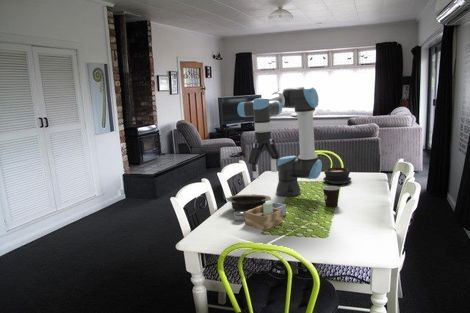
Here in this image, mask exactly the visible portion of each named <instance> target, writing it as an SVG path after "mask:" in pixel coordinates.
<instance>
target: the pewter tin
mask: <svg viewBox="0 0 470 313" xmlns="http://www.w3.org/2000/svg"><path fill="white" fill-rule="evenodd" d="M244 212H246V211H243V210H239V211H233V215H234V221H235V222H236V223H237V222H238V223H242V222H245V215H244Z"/></svg>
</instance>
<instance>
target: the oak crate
mask: <svg viewBox="0 0 470 313" xmlns="http://www.w3.org/2000/svg"><path fill="white" fill-rule="evenodd" d="M257 212H259V213H263V214H264V211H263V205H261V206H259V207H256V208H254V209H251V210H248V211H246V212H244V215H245V221H244V225H246V226H249V227H254V228H255V229H256V228H257V229H260V230H263V231H266V230H268V229H270V228H273V227H275V226H277V225H280V224H281V223H284V222H283V220H284V219H283V218H284V216H283V215H282V210H281V209H276V208H273V213H272V214H269V215H267V216H261V215H257V214H255V213H257Z"/></svg>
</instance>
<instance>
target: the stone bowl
mask: <svg viewBox="0 0 470 313" xmlns="http://www.w3.org/2000/svg"><path fill="white" fill-rule="evenodd" d="M225 199H226V200H227V201H228V202H229V203H231V209H232V210H233V212H235V211H239V210H243V211H248V210H251V209H254V208H256V207H259V206H261V205H263V204H264V203H267V202H268V201H271V200H272V197H271V196H269V195H265V194H255V193H254V194H238V195H235V194H234V195H231V196H228V197H227V196H226V197H225Z"/></svg>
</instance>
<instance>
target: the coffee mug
mask: <svg viewBox="0 0 470 313" xmlns="http://www.w3.org/2000/svg"><path fill="white" fill-rule="evenodd" d="M322 190H323V191H322V192H323V197H324V204H325V207H327V208H330V207H331V209H332V208H338V205H339V195H340V187H339V186H336V185H326V186H323V187H322Z"/></svg>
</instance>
